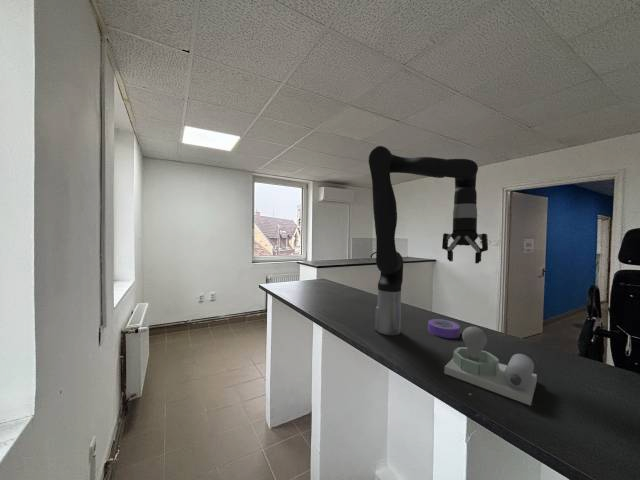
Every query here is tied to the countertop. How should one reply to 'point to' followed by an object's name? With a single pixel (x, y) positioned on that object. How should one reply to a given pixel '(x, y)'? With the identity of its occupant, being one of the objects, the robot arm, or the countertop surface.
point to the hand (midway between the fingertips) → (463, 262)
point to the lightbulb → (474, 342)
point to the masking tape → (444, 328)
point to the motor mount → (496, 374)
